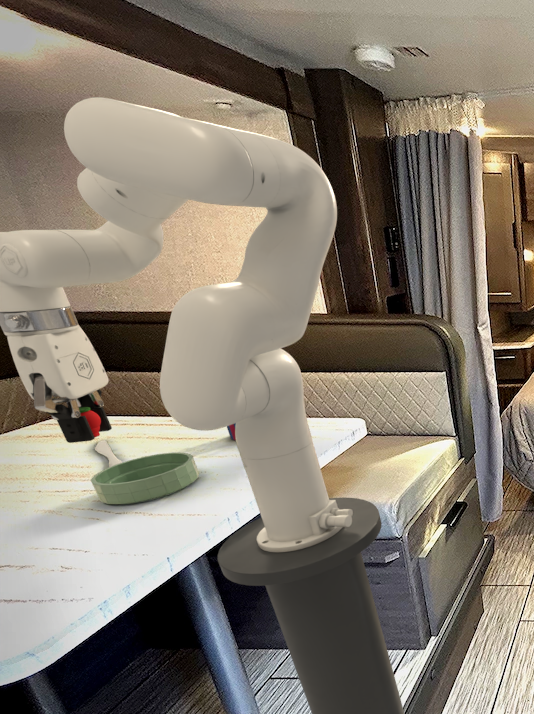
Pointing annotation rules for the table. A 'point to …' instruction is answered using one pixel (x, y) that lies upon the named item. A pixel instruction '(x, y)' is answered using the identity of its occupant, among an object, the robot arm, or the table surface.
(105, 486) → the bowl
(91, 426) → the strawberry
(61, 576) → the table surface
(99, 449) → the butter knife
